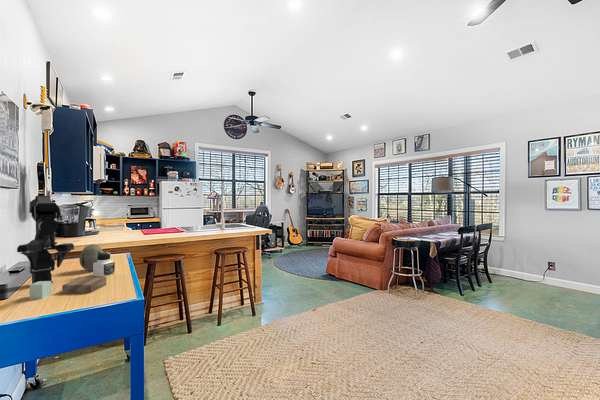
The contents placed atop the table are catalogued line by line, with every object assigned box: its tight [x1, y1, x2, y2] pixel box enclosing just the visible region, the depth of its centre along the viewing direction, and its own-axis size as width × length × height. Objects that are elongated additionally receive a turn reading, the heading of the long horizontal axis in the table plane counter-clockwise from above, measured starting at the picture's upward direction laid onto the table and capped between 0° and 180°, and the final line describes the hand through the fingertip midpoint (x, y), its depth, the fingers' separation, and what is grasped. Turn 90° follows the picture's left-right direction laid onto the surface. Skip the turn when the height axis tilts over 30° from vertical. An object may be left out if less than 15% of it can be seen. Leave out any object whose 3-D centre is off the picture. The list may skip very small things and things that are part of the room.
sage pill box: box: [29, 281, 52, 300], centre depth 125 cm, size 5×5×6 cm
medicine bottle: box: [92, 252, 116, 278], centre depth 160 cm, size 7×7×12 cm
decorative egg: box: [78, 244, 105, 272], centre depth 169 cm, size 12×12×15 cm
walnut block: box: [61, 276, 107, 294], centre depth 136 cm, size 12×12×4 cm
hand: (46, 267), depth 127 cm, fingers open, 9 cm apart
